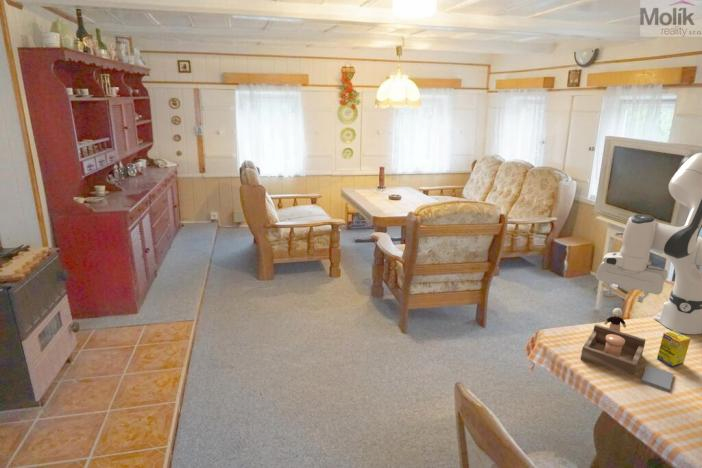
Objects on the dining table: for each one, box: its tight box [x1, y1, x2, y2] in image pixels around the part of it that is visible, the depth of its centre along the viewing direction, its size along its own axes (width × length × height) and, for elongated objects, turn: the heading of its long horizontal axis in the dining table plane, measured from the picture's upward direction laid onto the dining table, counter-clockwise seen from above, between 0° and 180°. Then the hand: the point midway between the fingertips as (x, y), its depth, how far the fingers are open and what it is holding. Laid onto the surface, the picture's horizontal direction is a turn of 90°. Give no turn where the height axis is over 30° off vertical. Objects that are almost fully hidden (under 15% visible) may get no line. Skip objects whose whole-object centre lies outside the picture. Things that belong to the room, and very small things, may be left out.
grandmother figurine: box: [603, 307, 627, 332], centre depth 179 cm, size 8×4×13 cm, turn 84°
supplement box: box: [656, 330, 691, 368], centre depth 164 cm, size 6×6×11 cm
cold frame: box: [580, 323, 646, 378], centre depth 167 cm, size 17×17×7 cm
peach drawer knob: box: [603, 334, 625, 358], centre depth 167 cm, size 6×6×8 cm
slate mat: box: [640, 364, 675, 393], centre depth 156 cm, size 11×8×1 cm
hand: (624, 297), depth 160 cm, fingers open, 8 cm apart
